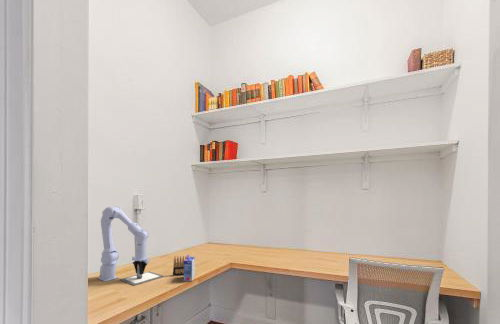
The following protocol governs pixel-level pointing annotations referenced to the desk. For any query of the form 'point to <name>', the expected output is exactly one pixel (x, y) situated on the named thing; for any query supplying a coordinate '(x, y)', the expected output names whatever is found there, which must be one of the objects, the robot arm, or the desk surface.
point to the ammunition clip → (178, 266)
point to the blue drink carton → (189, 268)
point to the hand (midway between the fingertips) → (139, 273)
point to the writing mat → (145, 278)
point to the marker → (138, 272)
